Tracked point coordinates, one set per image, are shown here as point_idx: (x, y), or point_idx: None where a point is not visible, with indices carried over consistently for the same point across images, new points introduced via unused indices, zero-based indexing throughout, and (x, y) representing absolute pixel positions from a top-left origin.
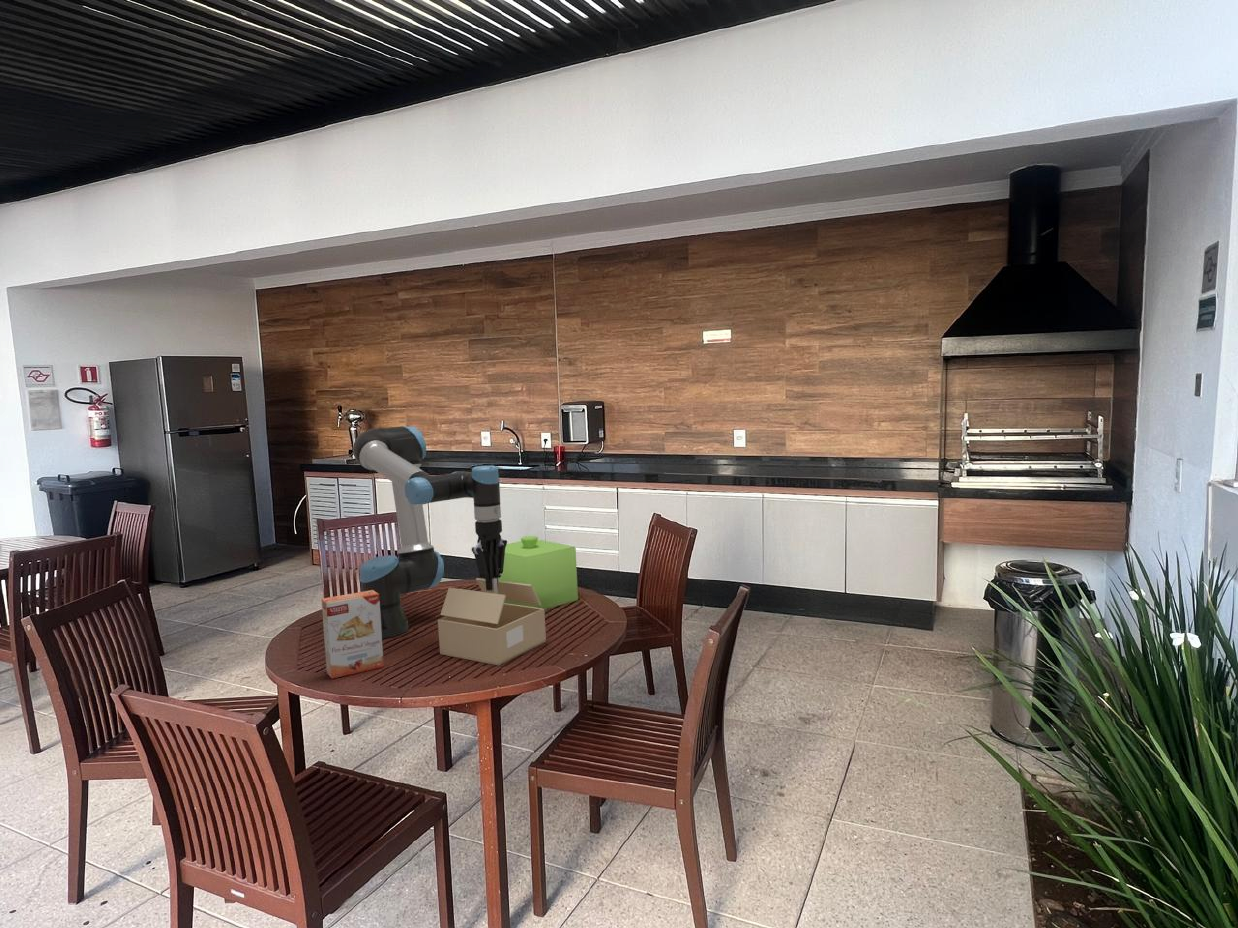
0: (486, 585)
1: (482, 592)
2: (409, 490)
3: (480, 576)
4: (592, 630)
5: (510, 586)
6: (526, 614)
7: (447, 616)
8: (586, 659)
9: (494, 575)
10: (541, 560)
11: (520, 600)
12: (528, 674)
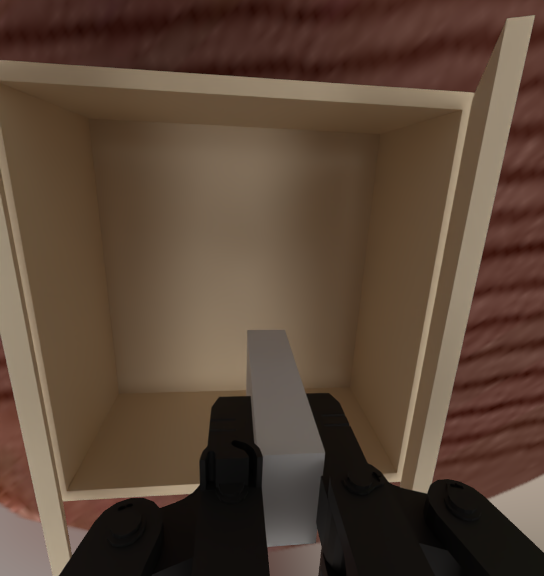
0: (209, 436)
1: (39, 512)
2: None
3: (91, 544)
4: (487, 443)
5: (414, 459)
6: (393, 375)
7: (70, 71)
8: (270, 548)
9: (324, 546)
10: None
11: (416, 402)
12: (107, 500)
